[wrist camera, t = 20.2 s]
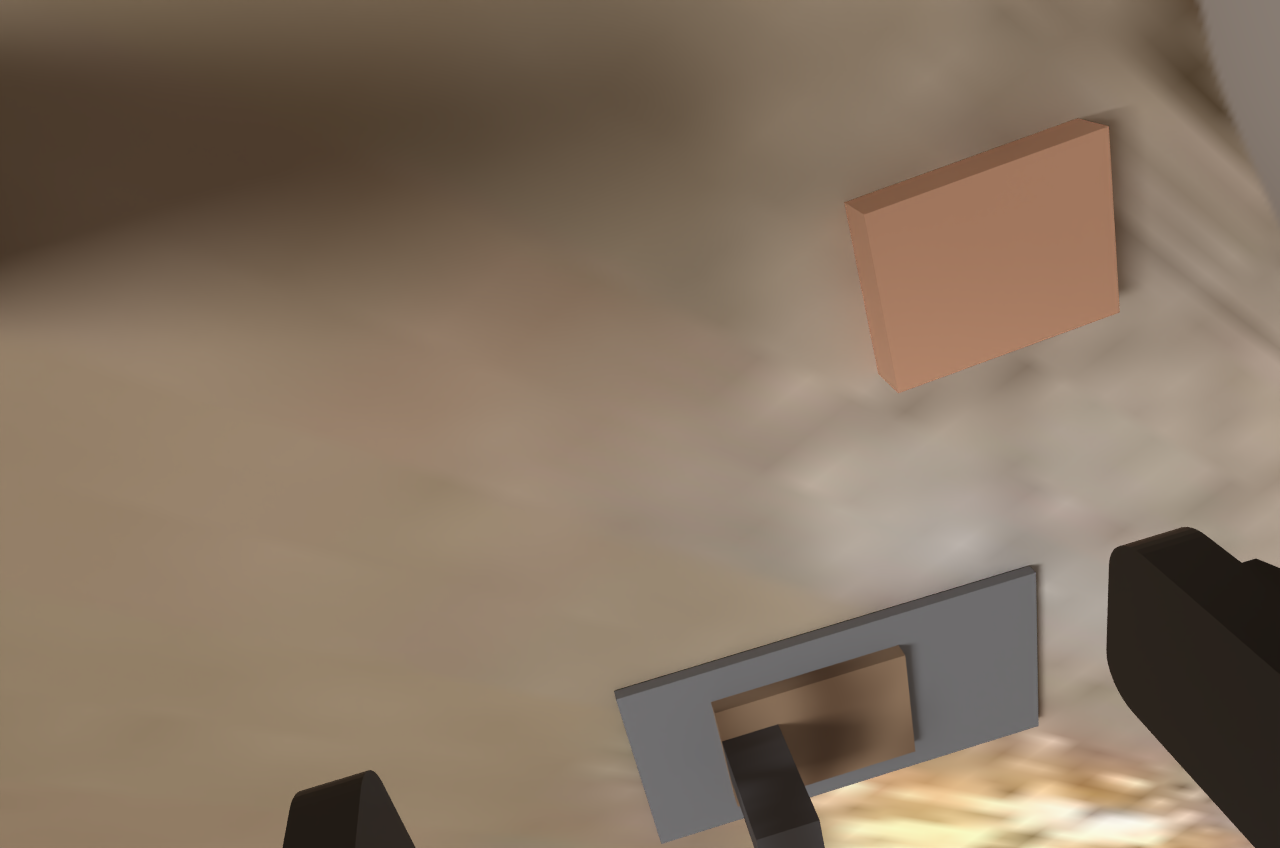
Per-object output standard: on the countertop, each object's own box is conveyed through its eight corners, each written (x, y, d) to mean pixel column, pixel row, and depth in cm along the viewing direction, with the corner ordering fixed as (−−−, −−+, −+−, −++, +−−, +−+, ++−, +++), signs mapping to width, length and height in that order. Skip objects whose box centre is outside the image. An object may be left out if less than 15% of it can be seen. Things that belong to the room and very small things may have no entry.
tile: (898, 393, 39) (1119, 312, 40) (863, 214, 36) (1108, 126, 36) (874, 370, 42) (1084, 293, 42) (839, 199, 38) (1070, 116, 38)
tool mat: (659, 834, 52) (661, 843, 51) (614, 691, 47) (616, 699, 46) (1032, 718, 53) (1038, 726, 53) (1029, 565, 48) (1035, 572, 47)
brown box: (733, 794, 51) (772, 908, 45) (710, 702, 47) (749, 810, 41) (909, 740, 51) (970, 845, 45) (898, 644, 48) (963, 743, 42)
